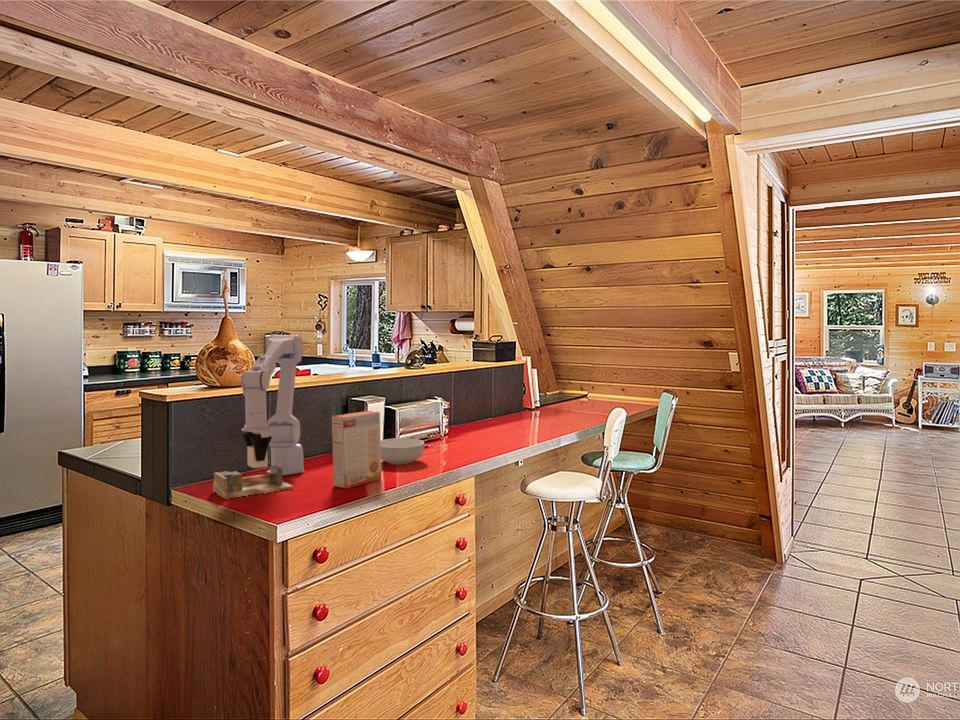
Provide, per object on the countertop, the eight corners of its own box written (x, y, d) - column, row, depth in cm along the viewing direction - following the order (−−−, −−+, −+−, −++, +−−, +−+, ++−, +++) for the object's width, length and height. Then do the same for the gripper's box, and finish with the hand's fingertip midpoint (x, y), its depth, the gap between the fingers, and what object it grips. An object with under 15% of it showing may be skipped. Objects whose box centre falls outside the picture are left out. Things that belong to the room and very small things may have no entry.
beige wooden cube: (261, 463, 186) (261, 444, 186) (267, 466, 182) (267, 447, 182) (247, 465, 183) (247, 446, 183) (253, 468, 179) (253, 448, 179)
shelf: (279, 482, 191) (279, 462, 191) (292, 488, 183) (292, 468, 183) (213, 492, 179) (213, 472, 179) (224, 499, 171) (224, 478, 171)
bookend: (275, 480, 189) (275, 465, 189) (282, 483, 185) (282, 468, 184) (270, 480, 188) (270, 466, 188) (277, 484, 184) (276, 469, 183)
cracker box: (368, 477, 197) (368, 410, 196) (382, 480, 193) (381, 411, 192) (331, 486, 186) (330, 415, 185) (345, 489, 182) (344, 416, 181)
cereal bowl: (364, 465, 215) (364, 444, 214) (393, 456, 229) (393, 436, 229) (406, 470, 207) (406, 448, 206) (433, 460, 222) (433, 440, 221)
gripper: (233, 410, 185) (234, 457, 186) (250, 416, 174) (251, 465, 174) (257, 408, 189) (258, 453, 190) (276, 413, 178) (277, 461, 179)
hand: (257, 459), depth 183 cm, fingers closed on beige wooden cube, 5 cm apart
